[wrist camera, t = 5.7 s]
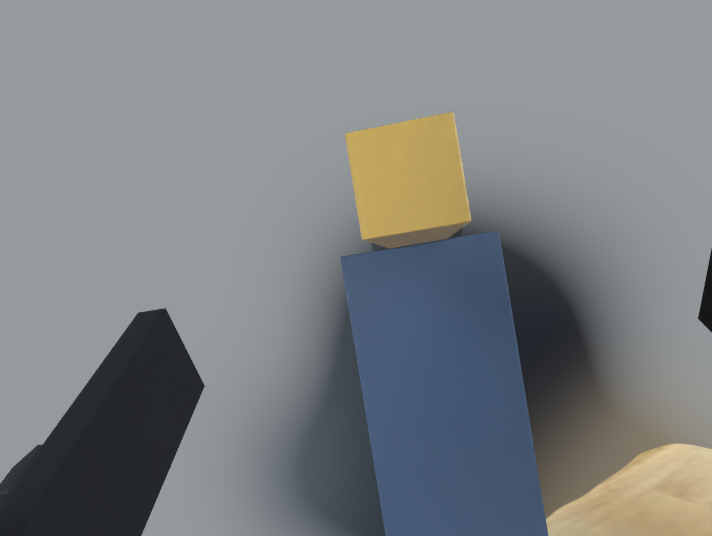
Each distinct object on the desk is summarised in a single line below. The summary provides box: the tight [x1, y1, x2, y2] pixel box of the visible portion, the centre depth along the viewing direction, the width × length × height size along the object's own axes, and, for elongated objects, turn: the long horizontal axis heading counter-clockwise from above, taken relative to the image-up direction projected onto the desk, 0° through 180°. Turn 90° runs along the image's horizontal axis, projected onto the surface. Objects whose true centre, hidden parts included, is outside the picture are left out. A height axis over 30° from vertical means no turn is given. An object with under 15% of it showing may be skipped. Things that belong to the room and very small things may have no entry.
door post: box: [341, 227, 548, 536], centre depth 30 cm, size 12×8×32 cm, turn 172°
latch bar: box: [345, 112, 471, 249], centre depth 26 cm, size 26×3×3 cm, turn 172°
